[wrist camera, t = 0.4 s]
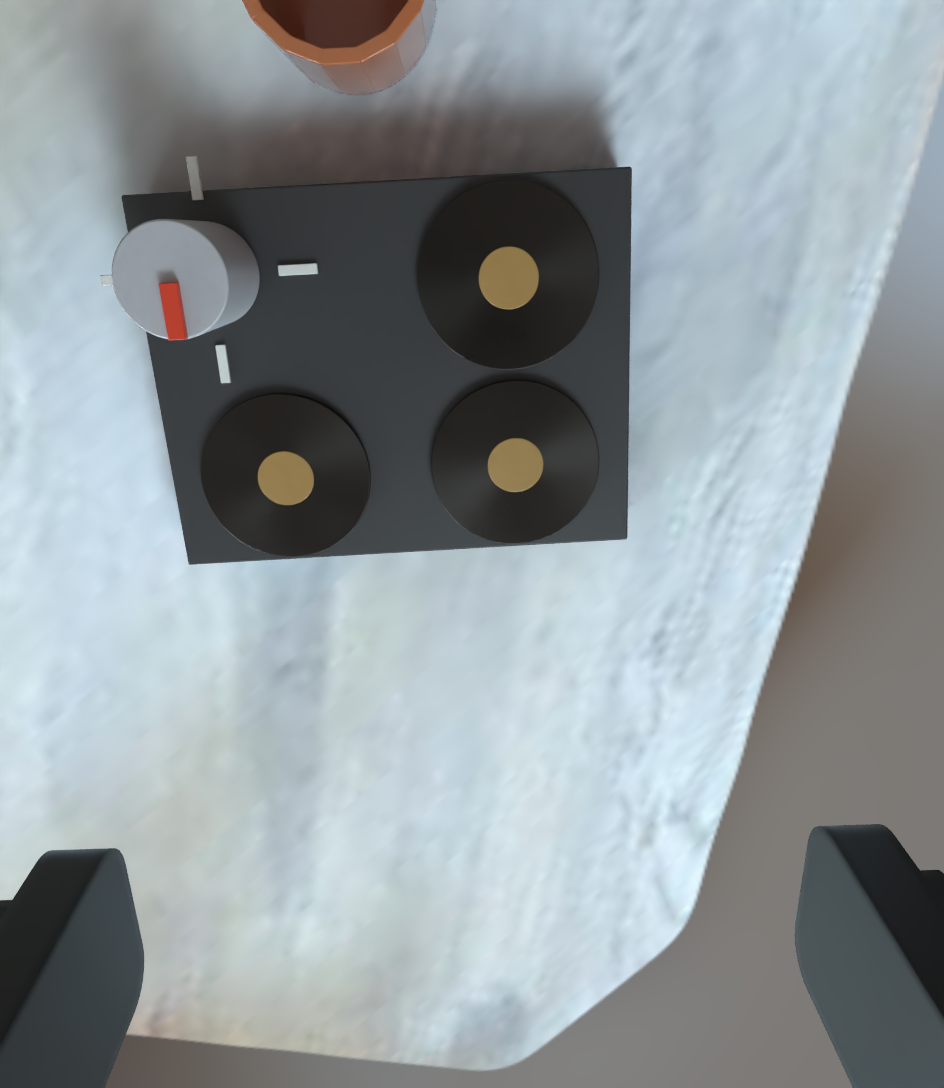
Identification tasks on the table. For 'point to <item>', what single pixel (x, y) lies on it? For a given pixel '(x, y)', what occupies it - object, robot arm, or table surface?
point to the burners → (472, 424)
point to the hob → (379, 348)
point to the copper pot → (348, 39)
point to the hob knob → (184, 277)
